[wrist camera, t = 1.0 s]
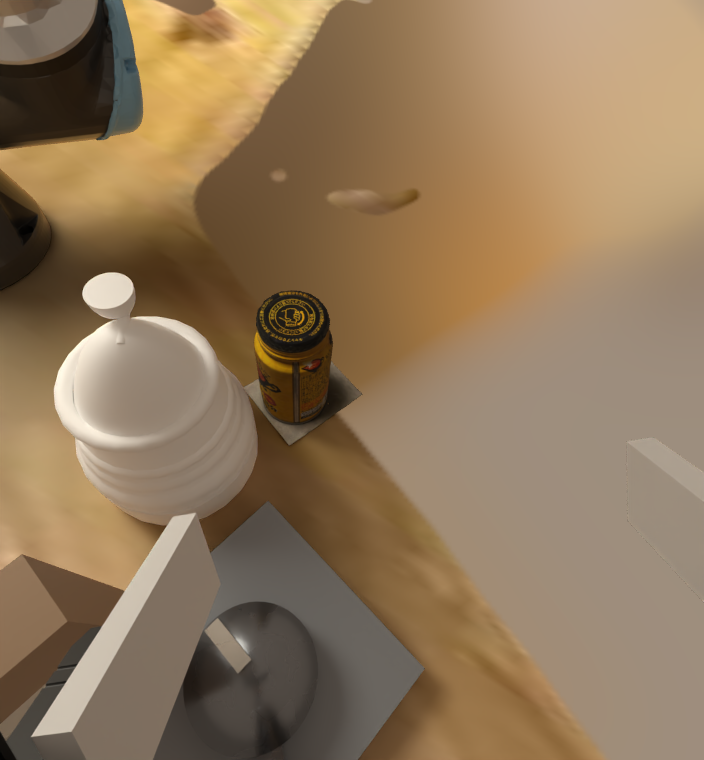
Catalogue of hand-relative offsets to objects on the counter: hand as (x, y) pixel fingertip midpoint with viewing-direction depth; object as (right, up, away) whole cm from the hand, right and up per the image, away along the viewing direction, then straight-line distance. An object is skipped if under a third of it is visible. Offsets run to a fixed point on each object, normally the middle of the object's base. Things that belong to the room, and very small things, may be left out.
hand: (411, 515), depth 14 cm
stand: (-10, -17, +17) cm, 26 cm away
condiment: (-6, +3, +30) cm, 30 cm away
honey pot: (-16, -2, +26) cm, 30 cm away
